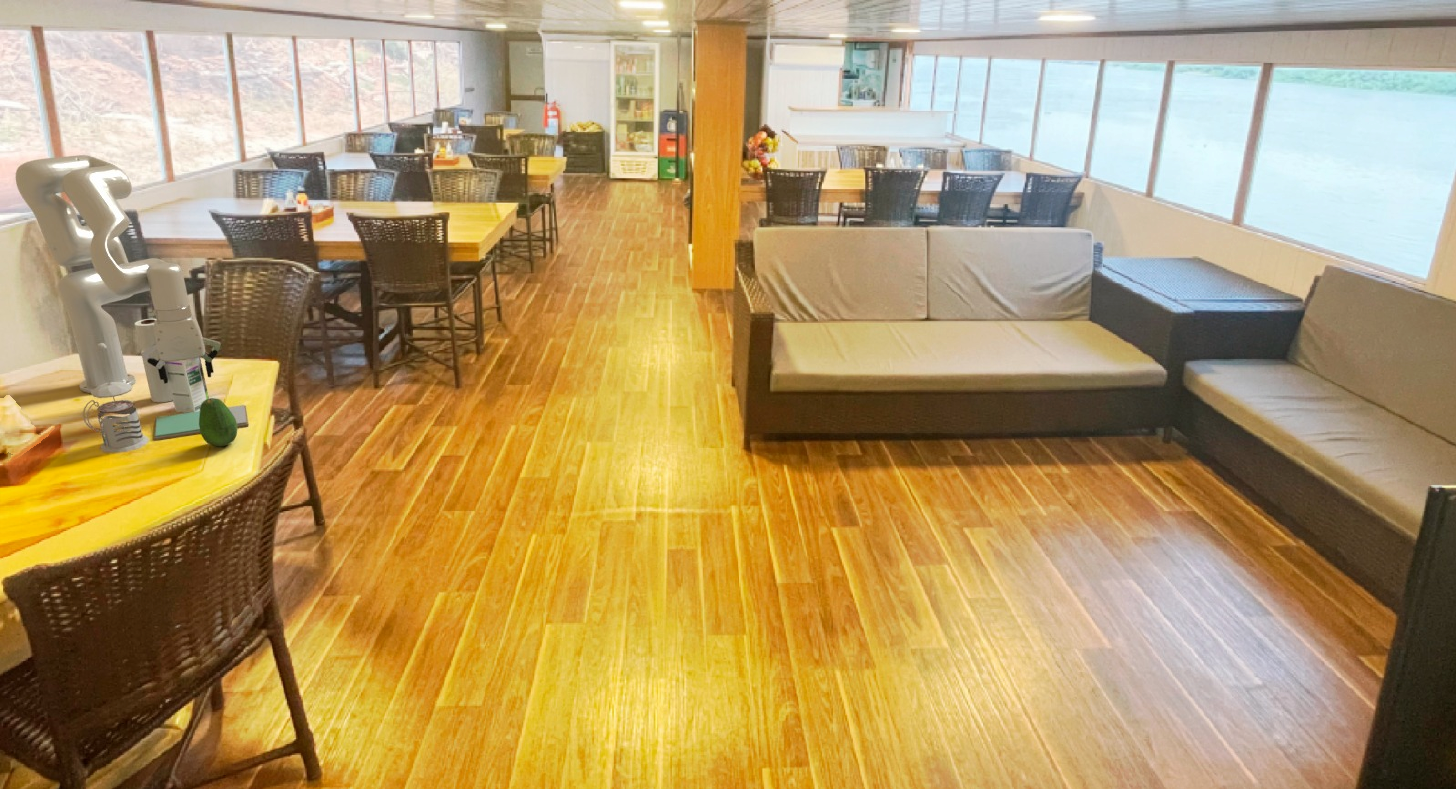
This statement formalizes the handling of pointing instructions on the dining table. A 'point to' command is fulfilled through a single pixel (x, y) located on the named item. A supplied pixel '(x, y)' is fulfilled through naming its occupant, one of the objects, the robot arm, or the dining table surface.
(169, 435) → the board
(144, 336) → the paper towel roll
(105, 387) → the french press
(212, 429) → the avocado
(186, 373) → the syrup box
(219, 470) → the dining table surface
